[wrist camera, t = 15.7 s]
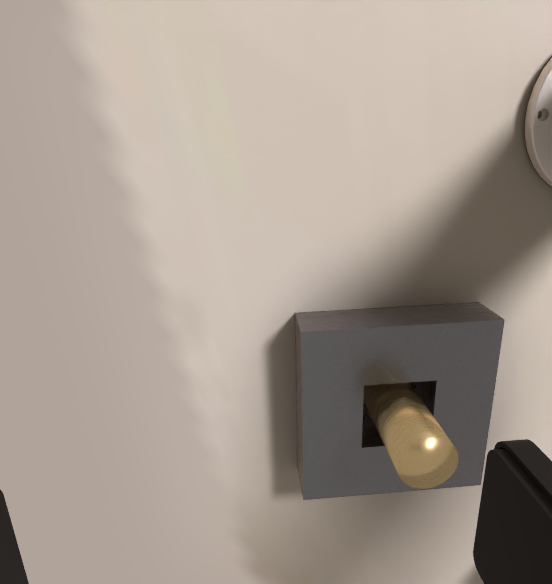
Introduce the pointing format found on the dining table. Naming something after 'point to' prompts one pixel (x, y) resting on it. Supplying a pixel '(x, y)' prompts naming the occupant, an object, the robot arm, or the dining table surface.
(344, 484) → the socket block
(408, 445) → the brass peg
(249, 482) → the dining table surface
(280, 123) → the dining table surface
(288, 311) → the dining table surface
